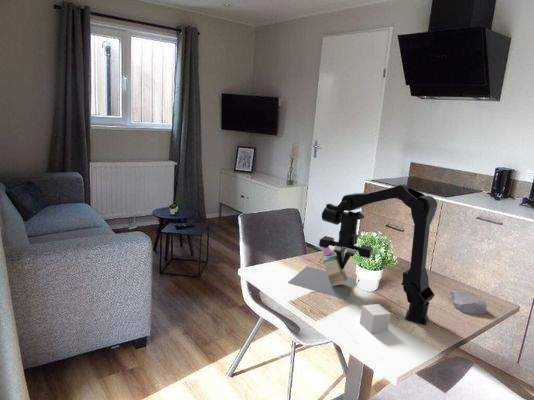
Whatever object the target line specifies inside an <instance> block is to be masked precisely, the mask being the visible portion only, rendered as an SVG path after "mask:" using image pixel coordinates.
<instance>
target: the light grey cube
mask: <svg viewBox="0 0 534 400" xmlns="http://www.w3.org/2000/svg"><path fill="white" fill-rule="evenodd" d="M390 320H391V312H389V311H388V310H387V308H385V307H383V306H382V305H381V304H380V303H376V304H375V303H374V304H365V305H362V306H361V311H360V319H359V324H360V325H361V326H362V327H363V328H364V329H365V330H366V331H367V332H368V333H369V334H378V333H385V332H388V331H389V326H390Z"/></svg>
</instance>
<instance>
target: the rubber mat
mask: <svg viewBox="0 0 534 400" xmlns="http://www.w3.org/2000/svg"><path fill="white" fill-rule="evenodd" d="M356 279H357V278H353V277H349V276H347V281H346V282H345V283H344V284H340V285H335V286H331V283H330V280H329V277H328V274H327V271H326V270H324V269H323V270H322V269H319V268H315V267H311V266H307V265H306V266H305V267H304V268H303V269H302V270H301V271H299V272H298V273H297V274H296V275H295V276H294V277H292V278H291V279H289V281H288V282H287V284H290V285H293V286H298V287H300V288H304V289H307V290H310V291H314V292H318V293H322V294H324V295H328V296H332V297H335V298H337V299H342V300H347V298H348V297H349V296H350V295H351V293H352V292H353V290H354V289H355V288H356V286H357V285H358V283H357V284H356Z"/></svg>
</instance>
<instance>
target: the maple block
mask: <svg viewBox="0 0 534 400" xmlns="http://www.w3.org/2000/svg"><path fill="white" fill-rule="evenodd" d="M322 263H323V265H324V269H325V271H327V274H328V277H329V280H330V283H331V286H335V285H340V284H344V283H345V282H346V281H347V277H348V276H347V273H346V270H345V268H344V269H341V266H340V263H339V259H338V257H337V255H332V256H328V257H327V256H325V258H324V259H323V260H322Z"/></svg>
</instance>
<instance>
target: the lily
mask: <svg viewBox="0 0 534 400" xmlns="http://www.w3.org/2000/svg"><path fill="white" fill-rule="evenodd" d="M320 239H321V238H318V240H319V241H320ZM318 248H319V250H321V251H322V252H323V253H322V257H321V258H320V259H319V261H318V263H320V262H321V260H322V259H323V258H324V257H328V256H332V255H337V254H336V253H335V252H333V251H334V250H331V248H330V246H329V247H327V248H324V247H320V246H318Z"/></svg>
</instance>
